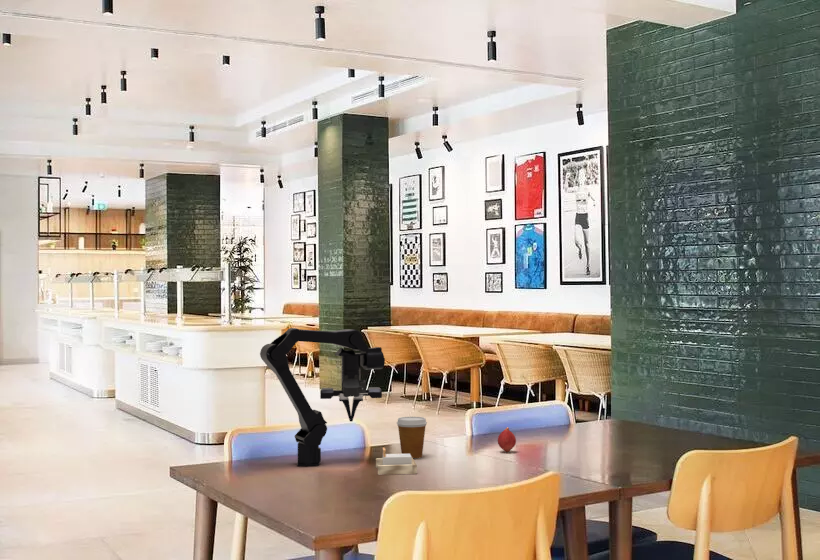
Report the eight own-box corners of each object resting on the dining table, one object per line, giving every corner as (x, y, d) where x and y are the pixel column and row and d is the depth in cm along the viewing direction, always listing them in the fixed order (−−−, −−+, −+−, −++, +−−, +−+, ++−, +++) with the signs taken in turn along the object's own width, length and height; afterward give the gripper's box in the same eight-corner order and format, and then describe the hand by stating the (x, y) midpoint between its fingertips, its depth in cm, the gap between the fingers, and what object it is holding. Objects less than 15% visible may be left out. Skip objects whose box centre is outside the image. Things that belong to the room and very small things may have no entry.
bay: (378, 474, 265) (378, 465, 265) (375, 466, 277) (375, 458, 277) (416, 473, 266) (416, 465, 266) (413, 466, 278) (413, 457, 278)
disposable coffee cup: (424, 460, 288) (423, 421, 288) (393, 459, 289) (393, 420, 290) (429, 454, 297) (429, 416, 297) (400, 453, 299) (400, 416, 299)
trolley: (383, 473, 268) (383, 450, 268) (382, 469, 275) (382, 446, 275) (411, 473, 269) (411, 450, 269) (409, 468, 275) (409, 446, 275)
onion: (495, 453, 299) (495, 428, 299) (500, 450, 305) (500, 425, 305) (513, 454, 297) (513, 429, 297) (518, 451, 302) (518, 426, 302)
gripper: (320, 373, 279) (320, 425, 279) (382, 372, 281) (383, 424, 280) (320, 369, 290) (320, 420, 290) (380, 369, 292) (380, 419, 292)
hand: (351, 421), depth 288 cm, fingers closed
